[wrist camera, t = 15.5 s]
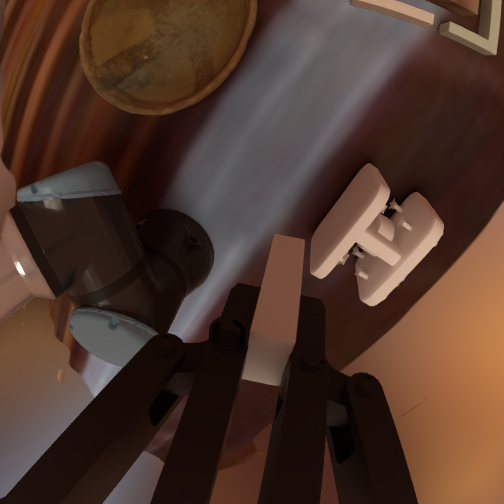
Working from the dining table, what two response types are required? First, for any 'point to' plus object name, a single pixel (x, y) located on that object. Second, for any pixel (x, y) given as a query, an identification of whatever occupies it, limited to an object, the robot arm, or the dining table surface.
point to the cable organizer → (375, 235)
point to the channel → (397, 11)
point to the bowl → (163, 50)
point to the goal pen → (486, 33)
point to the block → (459, 6)
